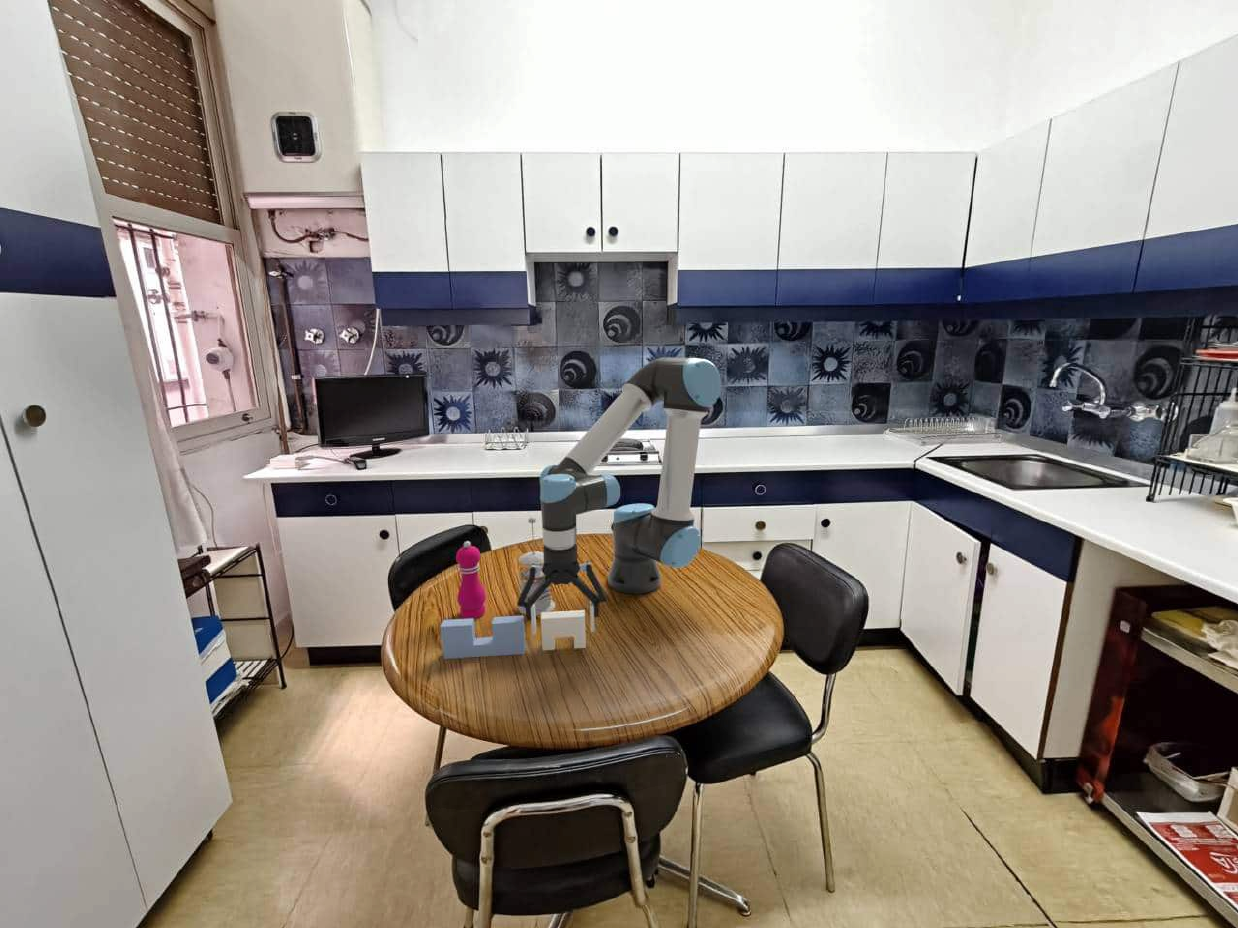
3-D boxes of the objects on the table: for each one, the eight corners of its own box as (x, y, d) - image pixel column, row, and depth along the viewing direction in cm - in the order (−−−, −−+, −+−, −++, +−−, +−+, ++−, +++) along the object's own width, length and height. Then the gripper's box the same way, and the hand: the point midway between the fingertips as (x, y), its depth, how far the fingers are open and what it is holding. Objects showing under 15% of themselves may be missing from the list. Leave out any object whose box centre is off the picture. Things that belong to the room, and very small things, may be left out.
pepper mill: (479, 621, 138) (473, 547, 134) (453, 618, 140) (446, 545, 135) (491, 607, 145) (486, 536, 140) (466, 605, 146) (460, 535, 142)
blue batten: (525, 646, 127) (523, 615, 125) (524, 653, 124) (522, 622, 122) (446, 651, 125) (443, 619, 123) (443, 658, 122) (440, 626, 120)
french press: (562, 601, 148) (558, 514, 142) (538, 621, 137) (533, 528, 132) (531, 595, 152) (526, 509, 146) (506, 614, 142) (500, 523, 136)
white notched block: (585, 640, 129) (584, 609, 127) (586, 647, 126) (585, 616, 124) (543, 643, 128) (541, 612, 126) (542, 650, 125) (540, 618, 123)
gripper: (614, 535, 126) (615, 619, 130) (505, 540, 124) (510, 625, 128) (617, 547, 118) (618, 636, 123) (501, 553, 116) (507, 642, 121)
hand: (563, 630), depth 126 cm, fingers open, 13 cm apart
